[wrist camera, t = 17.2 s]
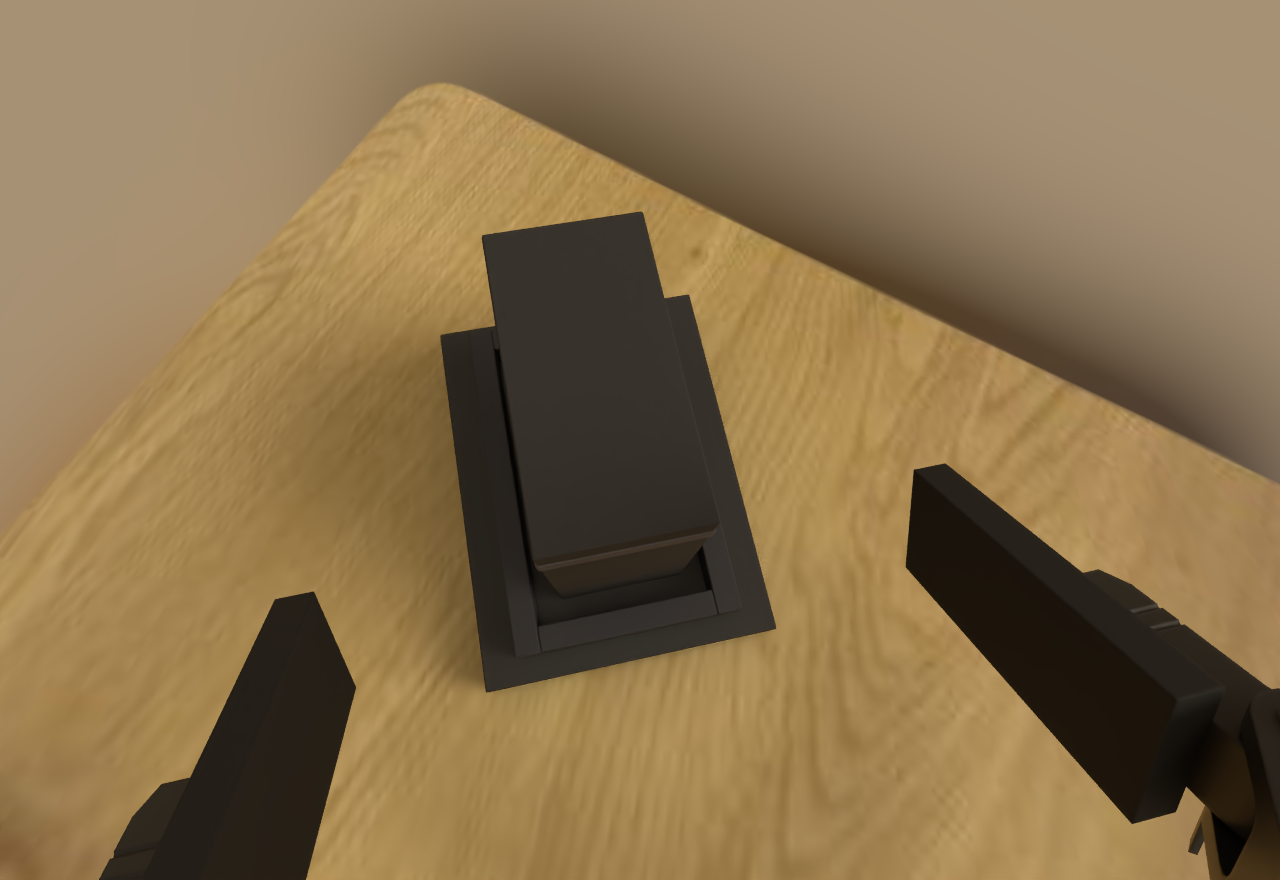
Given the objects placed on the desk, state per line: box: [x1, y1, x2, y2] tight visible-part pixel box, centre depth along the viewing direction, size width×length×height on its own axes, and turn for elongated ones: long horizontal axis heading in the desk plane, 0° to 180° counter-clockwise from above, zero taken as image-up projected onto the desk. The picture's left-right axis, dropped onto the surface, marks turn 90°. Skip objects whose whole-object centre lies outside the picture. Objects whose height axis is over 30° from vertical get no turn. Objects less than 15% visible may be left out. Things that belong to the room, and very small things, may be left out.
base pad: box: [440, 295, 776, 692], centre depth 29 cm, size 12×16×4 cm
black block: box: [482, 212, 720, 599], centre depth 24 cm, size 5×10×11 cm, turn 12°
